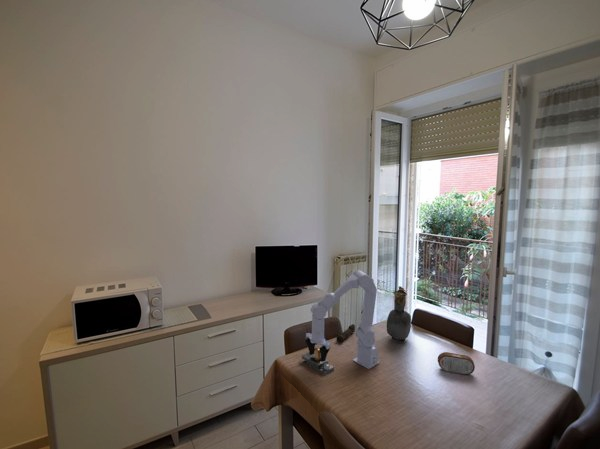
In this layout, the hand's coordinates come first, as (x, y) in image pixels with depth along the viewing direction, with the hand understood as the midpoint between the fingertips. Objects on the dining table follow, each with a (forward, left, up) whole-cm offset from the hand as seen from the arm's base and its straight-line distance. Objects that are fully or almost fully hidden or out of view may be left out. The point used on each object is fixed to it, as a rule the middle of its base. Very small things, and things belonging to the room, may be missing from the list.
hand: (317, 357), depth 140 cm
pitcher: (-10, -54, -4) cm, 55 cm away
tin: (-44, -45, -4) cm, 63 cm away
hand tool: (+11, -34, -4) cm, 36 cm away
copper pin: (0, 0, -4) cm, 4 cm away
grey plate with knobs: (0, 0, -4) cm, 4 cm away
